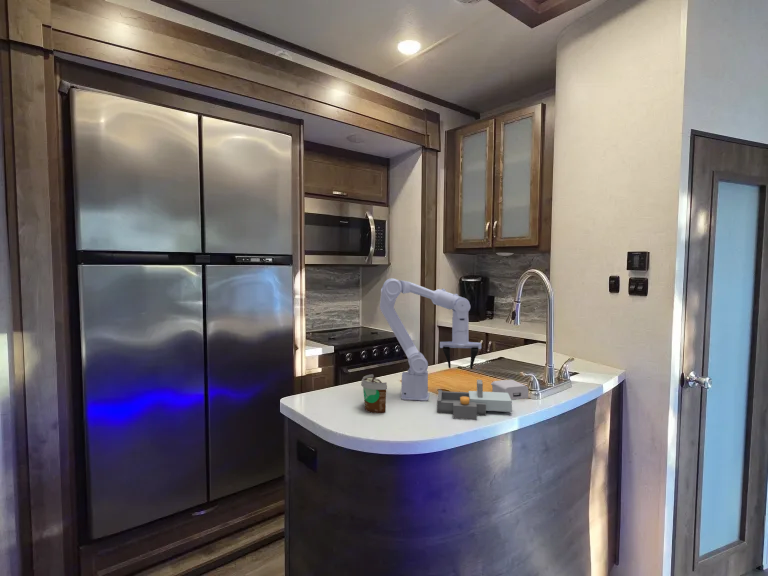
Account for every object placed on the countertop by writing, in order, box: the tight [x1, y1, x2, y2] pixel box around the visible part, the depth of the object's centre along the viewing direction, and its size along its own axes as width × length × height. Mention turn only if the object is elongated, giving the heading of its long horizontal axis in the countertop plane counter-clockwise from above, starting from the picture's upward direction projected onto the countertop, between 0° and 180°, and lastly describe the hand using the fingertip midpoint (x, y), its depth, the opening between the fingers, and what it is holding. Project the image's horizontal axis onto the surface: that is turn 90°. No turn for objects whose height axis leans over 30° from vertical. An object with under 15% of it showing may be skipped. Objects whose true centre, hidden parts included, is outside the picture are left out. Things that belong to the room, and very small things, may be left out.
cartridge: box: [468, 379, 513, 413], centre depth 127 cm, size 13×9×8 cm
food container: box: [360, 373, 388, 414], centre depth 128 cm, size 12×6×10 cm, turn 23°
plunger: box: [460, 396, 469, 404], centre depth 121 cm, size 3×3×2 cm
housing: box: [436, 389, 487, 421], centre depth 127 cm, size 15×16×4 cm
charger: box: [490, 379, 529, 401], centre depth 145 cm, size 5×9×15 cm
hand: (460, 368), depth 141 cm, fingers open, 7 cm apart
